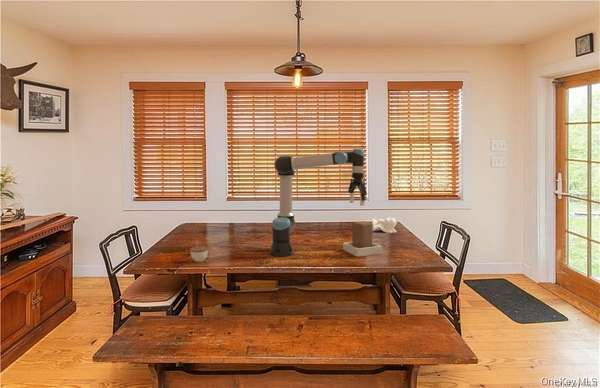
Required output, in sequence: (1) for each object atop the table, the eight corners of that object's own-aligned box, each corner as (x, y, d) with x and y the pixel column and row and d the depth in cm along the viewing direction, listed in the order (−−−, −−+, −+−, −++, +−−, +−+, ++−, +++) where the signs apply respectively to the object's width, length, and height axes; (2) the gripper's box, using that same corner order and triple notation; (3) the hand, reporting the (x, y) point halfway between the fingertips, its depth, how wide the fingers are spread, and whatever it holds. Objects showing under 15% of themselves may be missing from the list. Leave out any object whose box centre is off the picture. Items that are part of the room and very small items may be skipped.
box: (343, 249, 277) (343, 242, 276) (366, 247, 284) (367, 240, 283) (357, 256, 259) (357, 249, 258) (382, 253, 266) (382, 246, 266)
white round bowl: (189, 259, 255) (188, 244, 254) (206, 257, 259) (205, 243, 258) (192, 263, 245) (191, 248, 244) (209, 261, 250) (209, 246, 249)
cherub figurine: (371, 217, 344) (395, 215, 340) (372, 231, 345) (396, 229, 341) (371, 219, 331) (396, 217, 327) (373, 234, 332) (397, 232, 328)
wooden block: (351, 251, 273) (351, 222, 270) (362, 249, 278) (362, 220, 276) (361, 254, 264) (362, 224, 262) (372, 252, 270) (373, 223, 268)
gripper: (372, 173, 255) (371, 206, 258) (353, 171, 278) (352, 201, 281) (362, 173, 252) (361, 207, 255) (343, 171, 275) (342, 201, 278)
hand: (356, 204), depth 268 cm, fingers open, 13 cm apart
